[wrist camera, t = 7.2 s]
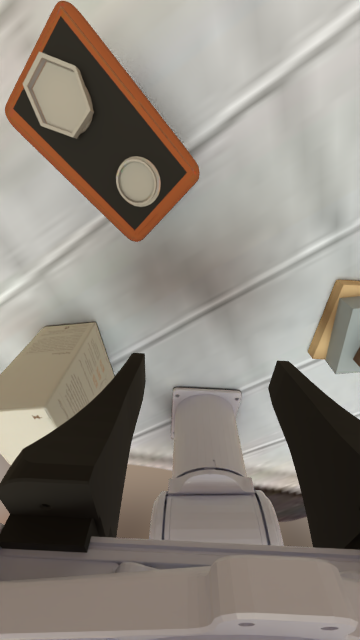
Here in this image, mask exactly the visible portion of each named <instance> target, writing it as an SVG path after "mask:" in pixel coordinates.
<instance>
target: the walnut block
mask: <svg viewBox="0 0 360 640" xmlns="http://www.w3.org/2000/svg"><path fill="white" fill-rule="evenodd" d="M353 360H354V361H355V362H356V364H357V365H358V366H359V367H360V347H359V349H358V351H357V353H356V354H355V356H354V358H353Z"/></svg>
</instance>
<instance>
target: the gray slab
mask: <svg viewBox="0 0 360 640" xmlns="http://www.w3.org/2000/svg"><path fill="white" fill-rule="evenodd" d="M359 347H360V296H356V297H346V298H339V303H338V307H337V312H336V316H335V320H334V325H333V329H332V333H331V338H330V342H329V346H328V351H327V355H326V359H325V361H326V362H327V363H328V365H329V366H330V367H331V369H332V370H333V371H334V373H335V374H344V373H358V372H360V367H359V366H358V365H357V364H356V362H355V361H354V360H353V358H354V356H355V354H356V353H357V351H358V349H359Z"/></svg>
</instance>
